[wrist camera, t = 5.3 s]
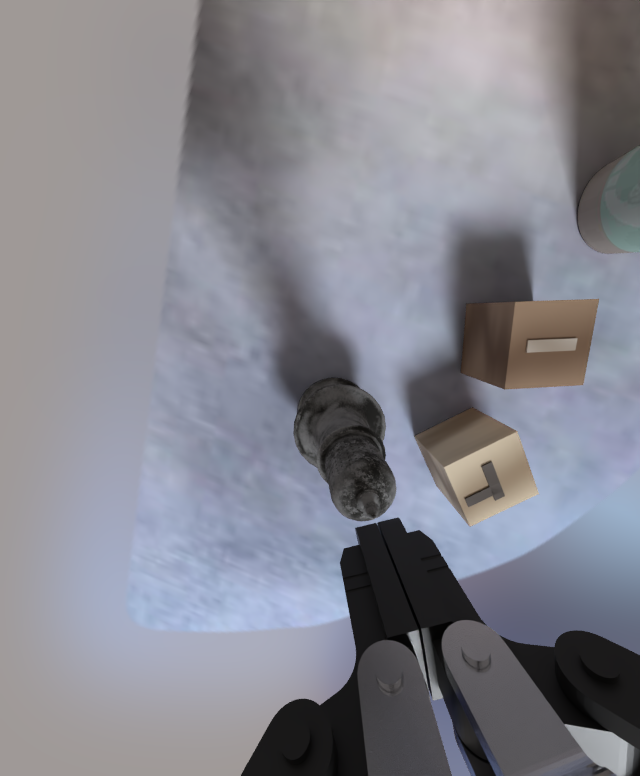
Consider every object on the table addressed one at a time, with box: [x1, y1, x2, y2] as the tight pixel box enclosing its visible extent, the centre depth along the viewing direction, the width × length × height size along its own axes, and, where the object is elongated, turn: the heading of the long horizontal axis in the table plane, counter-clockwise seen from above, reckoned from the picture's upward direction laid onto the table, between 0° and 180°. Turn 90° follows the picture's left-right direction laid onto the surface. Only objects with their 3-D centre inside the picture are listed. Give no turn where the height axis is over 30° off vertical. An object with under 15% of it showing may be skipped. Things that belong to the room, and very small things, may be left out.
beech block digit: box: [414, 407, 539, 527], centre depth 22 cm, size 5×5×5 cm
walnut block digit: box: [461, 299, 599, 389], centre depth 20 cm, size 5×5×5 cm
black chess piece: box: [294, 378, 396, 521], centre depth 17 cm, size 6×6×12 cm
